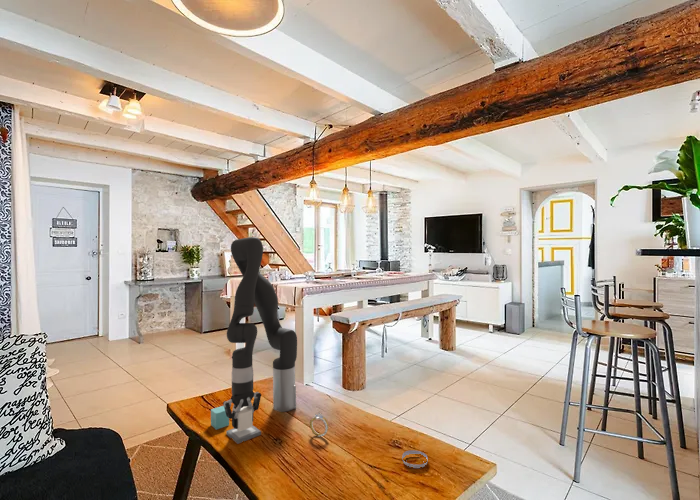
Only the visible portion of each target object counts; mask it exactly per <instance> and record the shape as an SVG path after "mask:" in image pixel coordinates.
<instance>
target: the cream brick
mask: <svg viewBox="0 0 700 500" xmlns="http://www.w3.org/2000/svg"><path fill="white" fill-rule="evenodd" d="M237 418H238V428H237V430H238V431H242V430H245V429H248V428H251V427H253V426H254V425H253V424H254V423H253V422H254V419H253V420H252V409H249V408H247V407H243V408H241V409H240V412H239V413H238V416H237Z"/></svg>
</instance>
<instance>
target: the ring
mask: <svg viewBox="0 0 700 500" xmlns="http://www.w3.org/2000/svg"><path fill="white" fill-rule="evenodd" d="M315 420H320V421H322V422H323V424H324V427H325V428H324V429H325V430H324V432H323V433H321V432H317V431H316V430H315V428H314V425H313V423H314V421H315ZM309 428H310V430H311V432H312V433H313V434H314V436H316V437H318V438H320V437H324V436H325V435H326V434H327V432H328V431H329V422H328V420H327V418H326V417H324V415H323V414H322V413H320V412H318V414H317V413H315V414H314V416H313V417H312V418H311V419H310V421H309Z"/></svg>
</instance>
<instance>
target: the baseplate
mask: <svg viewBox="0 0 700 500" xmlns="http://www.w3.org/2000/svg"><path fill="white" fill-rule="evenodd" d="M225 433H226V435H227V436H228V437H229V438H230V439H231V438H232V439H233V440H232V439H231V440H232V441H234V442H235V443H236V444H237V445H238V444H241V443H242V442H243V441H244V442H245V441H248V440H251V439H253V438H257V437H259V436H261V435H262V430H260V429H258V428H257V426H254V425H253V427H251V428H248V429H245V430H242V431H238V430H237V429H235V428H234V427H232V428H231V429H228V430H226V432H225Z"/></svg>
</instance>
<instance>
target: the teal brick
mask: <svg viewBox="0 0 700 500" xmlns="http://www.w3.org/2000/svg"><path fill="white" fill-rule="evenodd" d="M210 426H211V427H213V428H214V430H219V429H223V428H225V427H228V426H230V418H228V417H227V416H226V412H225V409H224V405H220V406H218V407H214V408H211V409H210Z"/></svg>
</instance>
